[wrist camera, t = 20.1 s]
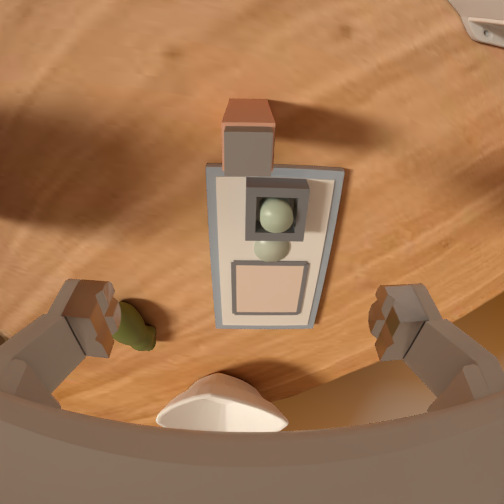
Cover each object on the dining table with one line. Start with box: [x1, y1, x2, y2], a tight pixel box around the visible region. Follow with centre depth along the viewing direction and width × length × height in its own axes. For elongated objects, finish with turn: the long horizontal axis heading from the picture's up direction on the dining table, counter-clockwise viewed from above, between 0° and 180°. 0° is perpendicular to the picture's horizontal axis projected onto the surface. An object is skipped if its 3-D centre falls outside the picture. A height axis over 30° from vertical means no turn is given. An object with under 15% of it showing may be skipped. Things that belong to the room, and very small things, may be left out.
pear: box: [112, 302, 156, 351], centre depth 44 cm, size 6×5×10 cm
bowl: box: [156, 373, 288, 432], centre depth 54 cm, size 21×21×9 cm
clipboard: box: [206, 163, 345, 329], centre depth 38 cm, size 14×24×1 cm, turn 179°
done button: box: [259, 197, 293, 233], centre depth 32 cm, size 3×3×2 cm
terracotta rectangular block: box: [222, 99, 275, 177], centre depth 24 cm, size 4×4×12 cm
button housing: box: [245, 177, 310, 242], centre depth 32 cm, size 6×6×2 cm
